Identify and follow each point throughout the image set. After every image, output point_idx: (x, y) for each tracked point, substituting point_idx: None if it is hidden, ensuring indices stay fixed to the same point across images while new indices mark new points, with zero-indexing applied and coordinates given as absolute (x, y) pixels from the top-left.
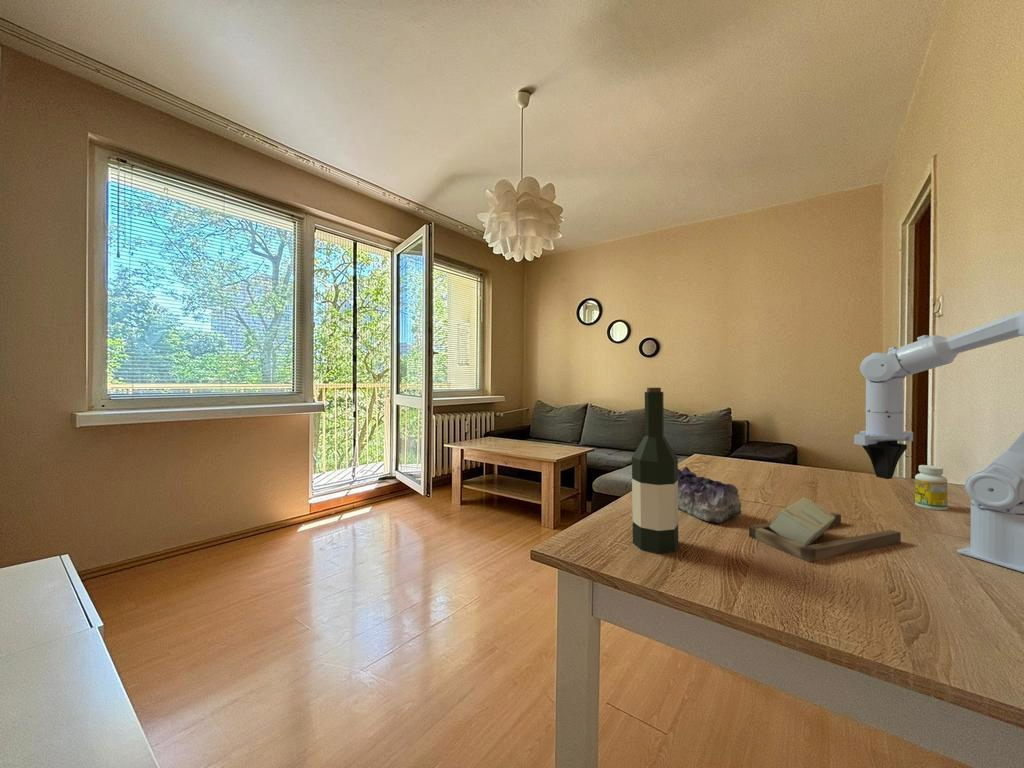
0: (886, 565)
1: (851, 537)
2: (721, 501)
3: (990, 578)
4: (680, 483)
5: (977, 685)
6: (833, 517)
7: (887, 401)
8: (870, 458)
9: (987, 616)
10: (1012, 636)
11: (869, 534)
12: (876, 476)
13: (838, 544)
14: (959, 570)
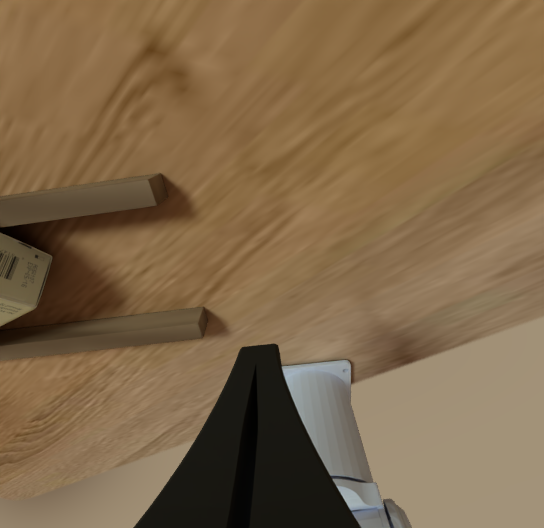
0: (90, 376)
1: (58, 340)
2: None
3: None
4: None
5: (5, 494)
6: (25, 311)
7: None
8: (185, 457)
9: (107, 457)
10: (97, 473)
11: (115, 335)
12: (239, 351)
13: (3, 359)
14: (194, 400)
